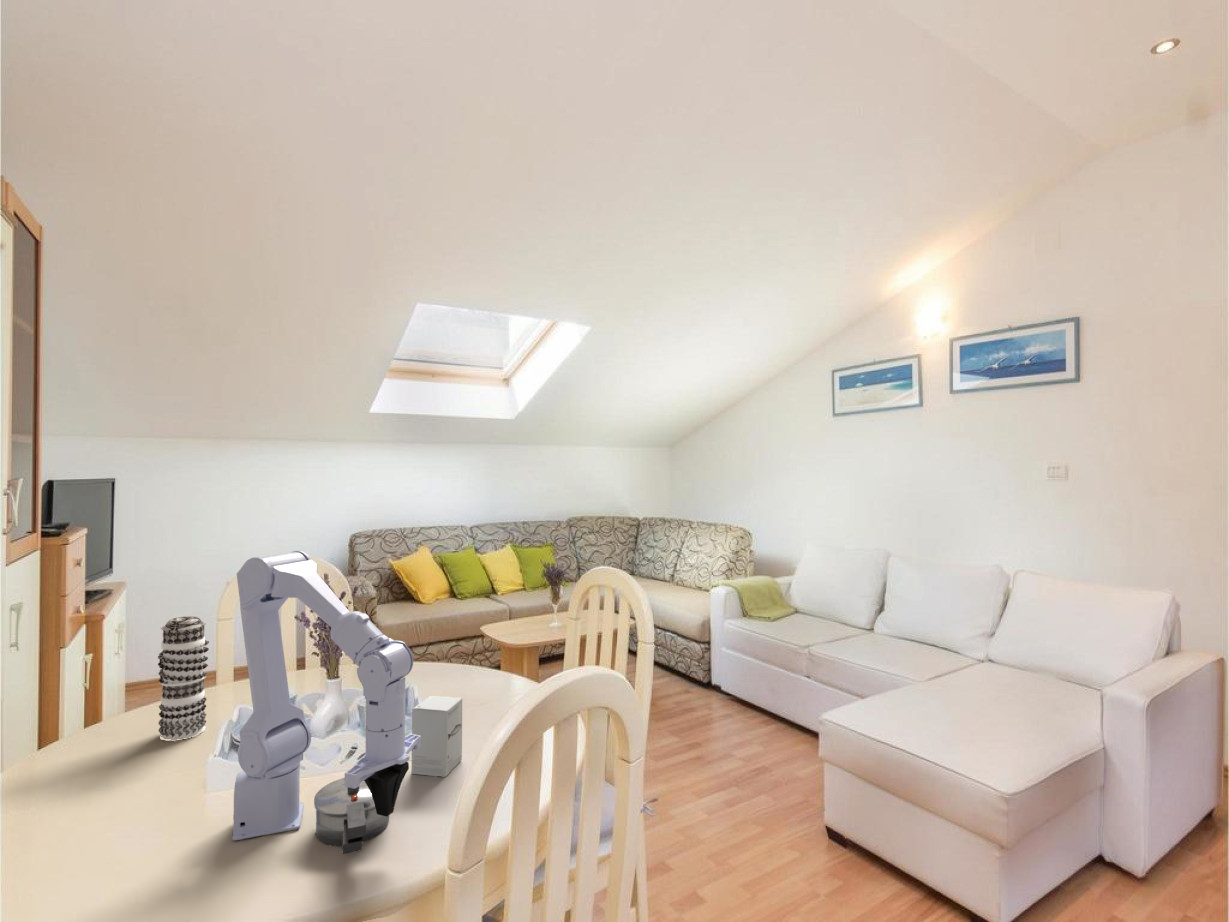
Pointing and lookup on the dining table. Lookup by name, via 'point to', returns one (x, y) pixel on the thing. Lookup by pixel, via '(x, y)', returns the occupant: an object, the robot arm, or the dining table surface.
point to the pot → (336, 832)
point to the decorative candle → (182, 678)
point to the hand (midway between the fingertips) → (384, 813)
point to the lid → (346, 804)
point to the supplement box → (437, 735)
